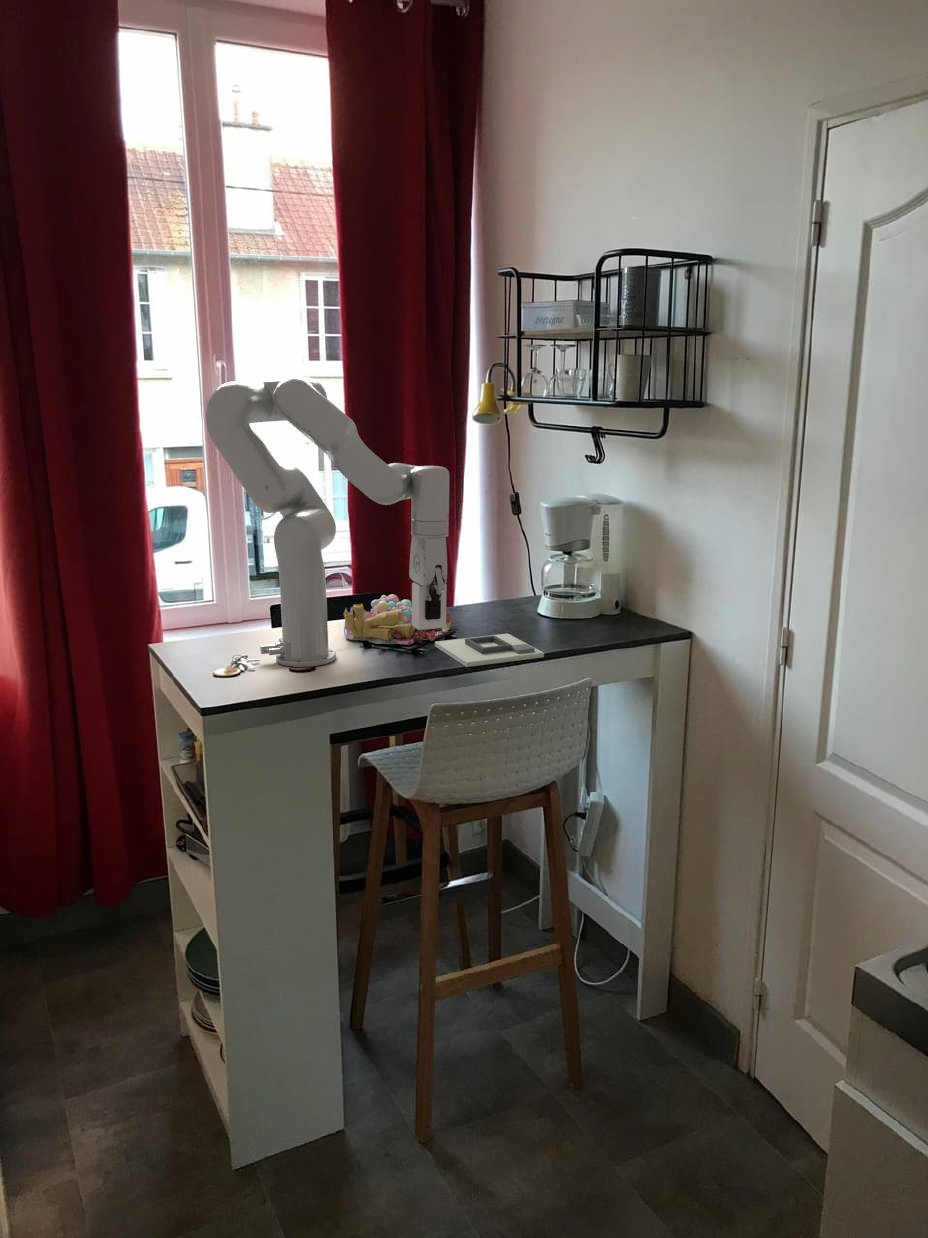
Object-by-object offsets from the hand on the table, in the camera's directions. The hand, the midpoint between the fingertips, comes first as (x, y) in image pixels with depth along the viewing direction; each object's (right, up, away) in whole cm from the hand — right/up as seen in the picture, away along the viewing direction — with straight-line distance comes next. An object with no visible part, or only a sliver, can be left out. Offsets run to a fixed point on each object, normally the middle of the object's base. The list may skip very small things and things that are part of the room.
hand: (428, 615), depth 200 cm
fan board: (+13, -8, +13) cm, 19 cm away
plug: (0, -2, +1) cm, 2 cm away
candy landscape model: (-9, -4, +29) cm, 31 cm away
